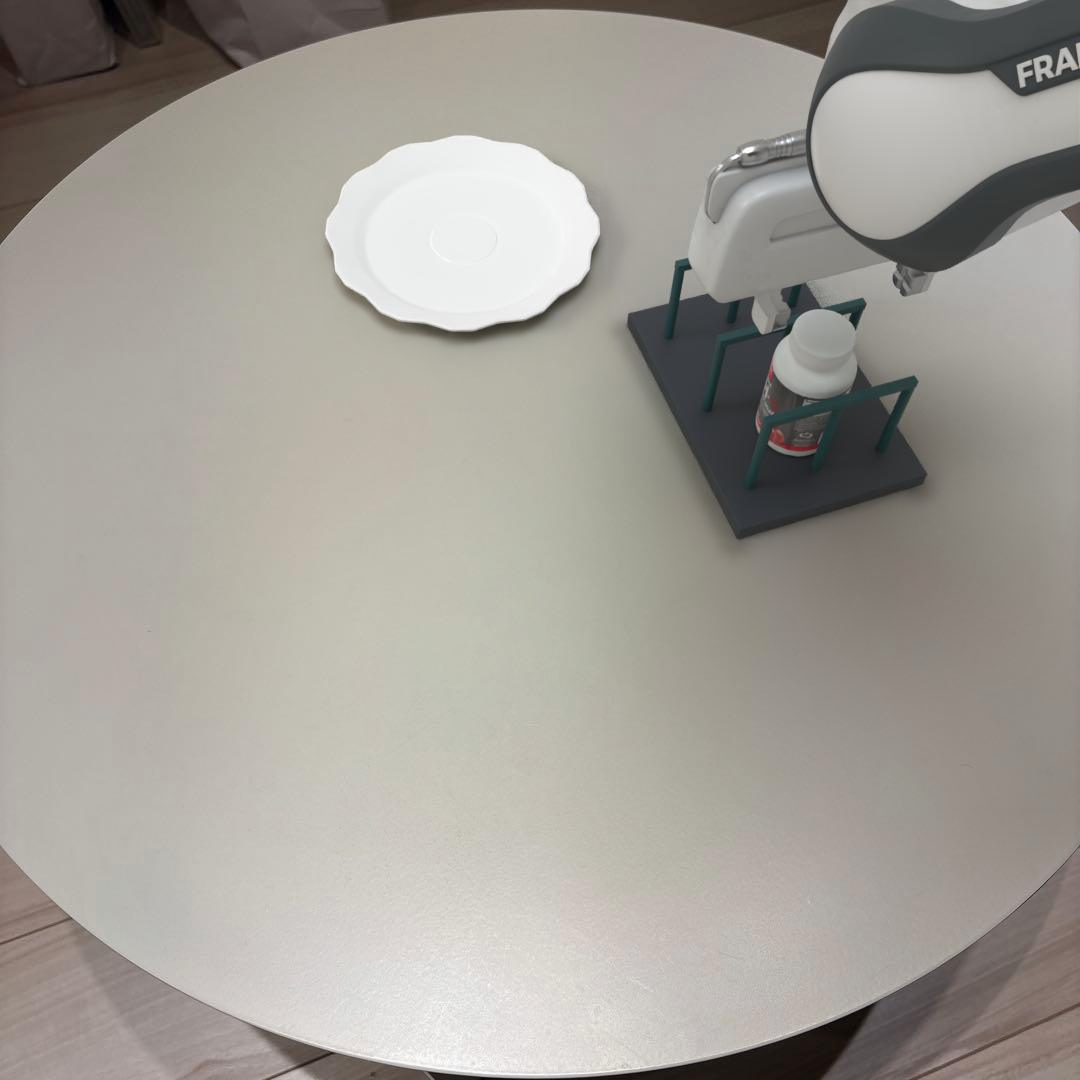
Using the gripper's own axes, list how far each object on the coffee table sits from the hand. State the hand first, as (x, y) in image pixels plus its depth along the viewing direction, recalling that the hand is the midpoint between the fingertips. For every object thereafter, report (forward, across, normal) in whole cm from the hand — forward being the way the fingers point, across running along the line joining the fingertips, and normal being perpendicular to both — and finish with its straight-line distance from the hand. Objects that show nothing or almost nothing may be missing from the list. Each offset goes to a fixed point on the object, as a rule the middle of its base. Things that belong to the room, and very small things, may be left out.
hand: (838, 305), depth 69 cm
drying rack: (+13, 0, +4) cm, 14 cm away
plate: (+13, -16, +26) cm, 33 cm away
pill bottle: (+12, 0, 0) cm, 13 cm away
